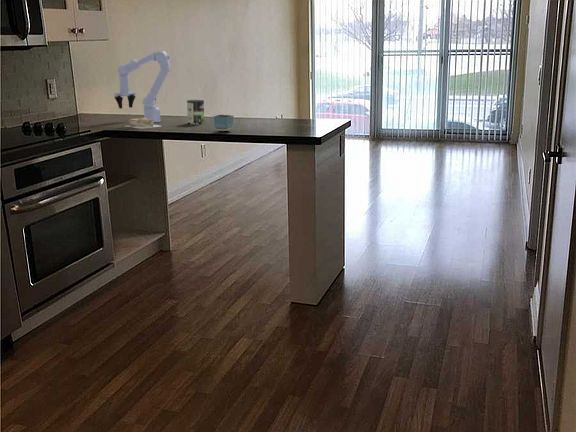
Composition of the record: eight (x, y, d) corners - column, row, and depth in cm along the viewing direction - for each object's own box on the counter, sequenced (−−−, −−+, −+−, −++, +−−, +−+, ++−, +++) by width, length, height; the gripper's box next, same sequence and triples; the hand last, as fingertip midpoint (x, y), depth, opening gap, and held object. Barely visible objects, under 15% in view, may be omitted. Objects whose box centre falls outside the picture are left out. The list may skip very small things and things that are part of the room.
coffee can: (206, 122, 376) (206, 100, 372) (201, 124, 366) (200, 101, 362) (191, 122, 378) (190, 99, 374) (185, 124, 368) (184, 100, 364)
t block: (145, 124, 364) (145, 117, 363) (158, 126, 357) (158, 119, 356) (129, 126, 355) (128, 119, 354) (142, 128, 348) (142, 121, 347)
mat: (145, 124, 367) (145, 123, 367) (163, 126, 358) (163, 126, 358) (124, 126, 355) (124, 126, 355) (141, 129, 346) (141, 128, 346)
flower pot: (234, 131, 342) (234, 115, 340) (227, 133, 334) (227, 117, 332) (220, 130, 345) (219, 114, 342) (213, 132, 337) (213, 116, 334)
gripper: (129, 84, 377) (131, 106, 381) (110, 85, 366) (111, 108, 370) (137, 85, 373) (138, 107, 377) (117, 86, 362) (119, 109, 365)
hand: (125, 107), depth 373 cm, fingers open, 7 cm apart
